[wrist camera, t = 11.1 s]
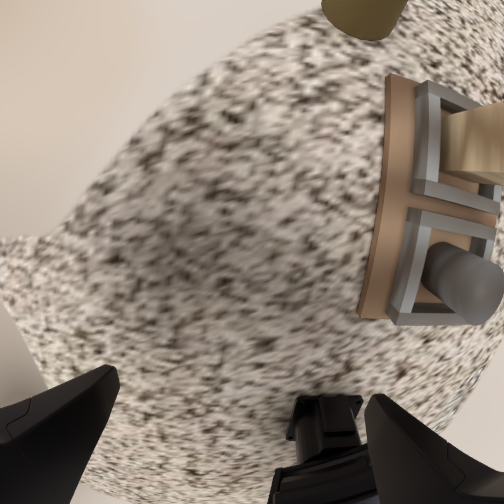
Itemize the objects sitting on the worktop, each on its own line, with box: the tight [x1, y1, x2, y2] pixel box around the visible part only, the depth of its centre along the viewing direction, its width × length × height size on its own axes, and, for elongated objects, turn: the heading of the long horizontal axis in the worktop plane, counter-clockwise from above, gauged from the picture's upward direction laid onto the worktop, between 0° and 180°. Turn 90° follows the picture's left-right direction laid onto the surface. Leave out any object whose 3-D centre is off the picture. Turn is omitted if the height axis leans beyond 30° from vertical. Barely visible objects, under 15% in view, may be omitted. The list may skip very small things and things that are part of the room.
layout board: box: [357, 73, 504, 326], centre depth 14 cm, size 18×12×7 cm, turn 175°
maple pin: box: [439, 101, 504, 186], centre depth 12 cm, size 4×4×8 cm
